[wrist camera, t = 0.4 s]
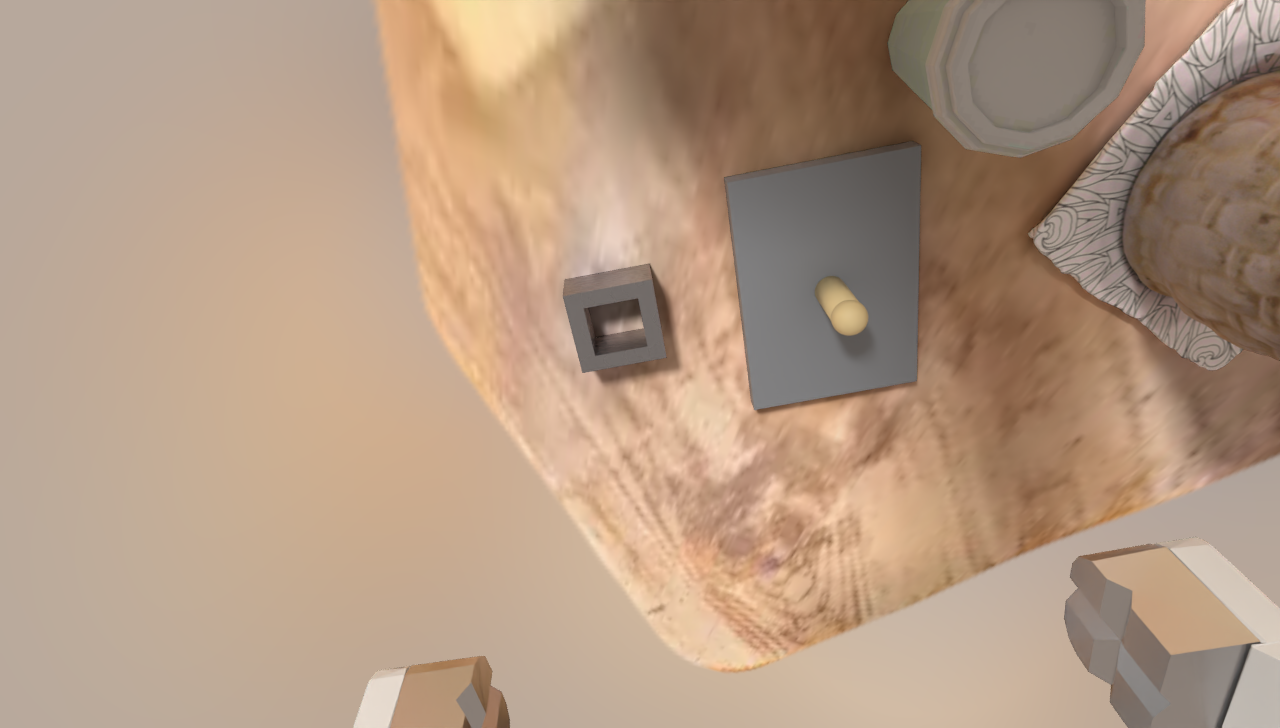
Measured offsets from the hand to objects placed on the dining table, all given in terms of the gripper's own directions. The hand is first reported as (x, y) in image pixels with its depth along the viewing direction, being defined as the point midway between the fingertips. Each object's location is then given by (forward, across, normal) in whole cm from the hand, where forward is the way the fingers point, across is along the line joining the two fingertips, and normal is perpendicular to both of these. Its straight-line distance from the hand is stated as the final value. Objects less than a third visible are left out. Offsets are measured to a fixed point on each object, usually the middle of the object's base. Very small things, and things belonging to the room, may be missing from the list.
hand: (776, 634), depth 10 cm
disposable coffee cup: (+45, -20, -1) cm, 50 cm away
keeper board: (+45, -12, +16) cm, 50 cm away
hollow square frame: (+45, +5, +15) cm, 48 cm away
